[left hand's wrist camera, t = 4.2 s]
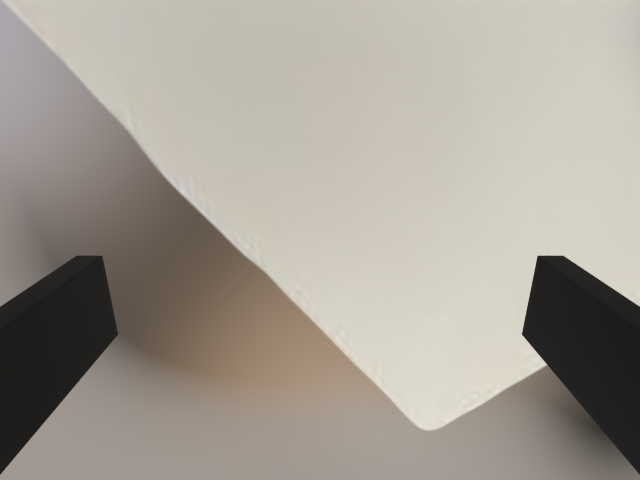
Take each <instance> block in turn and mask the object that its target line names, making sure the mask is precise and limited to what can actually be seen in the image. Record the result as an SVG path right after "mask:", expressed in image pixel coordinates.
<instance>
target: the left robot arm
mask: <svg viewBox="0 0 640 480" xmlns="http://www.w3.org/2000/svg"><path fill="white" fill-rule="evenodd" d="M117 335H118V332H117V327H116V322H115V317H114V312H113V307H112V302H111V297H110V292H109V287H108V282H107V277H106V272H105V267H104V262H103V257H102V256H76V257H74V258H73V259H71V260H70V261H68V262H67V263H65V264H64V265H62V266H61V267H59V268H58V269H56V270H55V271H53V272H52V273H50V274H49V275H47V276H46V277H44V278H43V279H41V280H40V281H38V282H37V283H35V284H34V285H32V286H31V287H29V288H28V289H26V290H25V291H23V292H22V293H20V294H19V295H17V296H16V297H14V298H13V299H11V300H10V301H8V302H7V303H5V304H4V305H2V306H1V307H0V474H1V473H2V472H3V471H4V470H5V468H6V467H7V466H8V465H9V463H10V462H11V461H12V460H13V459H14V458H15V456H16V455H17V454H18V453H19V452H20V450H21V449H22V448H23V447H24V446H25V444H26V443H27V442H28V441H29V440H30V438H31V437H32V436H33V435H34V434H35V433H36V431H37V430H38V429H39V428H40V427H41V425H42V424H43V423H44V422H45V421H46V420H47V418H48V417H49V416H50V415H51V414H52V412H53V411H54V410H55V409H56V408H57V406H58V405H59V404H60V403H61V402H62V400H63V399H64V398H65V397H66V396H67V395H68V393H69V392H70V391H71V390H72V388H73V387H74V386H75V385H76V384H77V383H78V381H79V380H80V379H81V378H82V377H83V375H84V374H85V373H86V372H87V371H88V369H89V368H90V367H91V366H92V365H93V364H94V362H95V361H96V360H97V359H98V358H99V356H100V355H101V354H102V353H103V352H104V350H105V349H106V348H107V347H108V346H109V344H110V343H111V342H112V341H113V340H114V339H115V337H116V336H117ZM522 335H523V336H524V337H525V339H526V340H527V341H528V342H529V343H530V345H531V346H532V347H533V348H534V349H535V350H536V352H537V353H538V354H539V355H540V356H541V358H542V359H543V360H544V361H545V362H546V364H547V365H548V366H549V367H550V368H551V370H552V371H553V372H554V373H555V374H556V375H557V377H558V378H559V379H560V380H561V381H562V383H563V384H564V385H565V386H566V387H567V389H568V390H569V391H570V392H571V393H572V395H573V396H574V397H575V398H576V399H577V400H578V402H579V403H580V404H581V405H582V406H583V408H584V409H585V410H586V411H587V412H588V414H589V415H590V416H591V417H592V418H593V420H594V421H595V422H596V423H597V424H598V425H599V427H600V428H601V429H602V430H603V431H604V433H605V434H606V435H607V436H608V437H609V438H610V440H611V441H612V442H613V443H614V445H615V446H616V447H617V448H618V449H619V450H620V452H621V453H622V454H623V455H624V456H625V458H626V459H627V460H628V461H629V462H630V464H631V465H632V466H633V467H634V468H635V470H636V471H637V472H638V473H639V474H640V307H639V306H638V305H636V304H635V303H633V302H632V301H630V300H629V299H627V298H626V297H624V296H623V295H621V294H620V293H618V292H617V291H615V290H614V289H612V288H611V287H609V286H608V285H606V284H605V283H603V282H602V281H600V280H599V279H597V278H596V277H594V276H593V275H591V274H590V273H588V272H587V271H585V270H584V269H582V268H581V267H579V266H578V265H576V264H575V263H573V262H572V261H570V260H569V259H567V258H566V257H564V256H538V257H537V262H536V267H535V272H534V277H533V282H532V287H531V292H530V297H529V302H528V307H527V312H526V317H525V322H524V327H523V332H522Z"/></svg>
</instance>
